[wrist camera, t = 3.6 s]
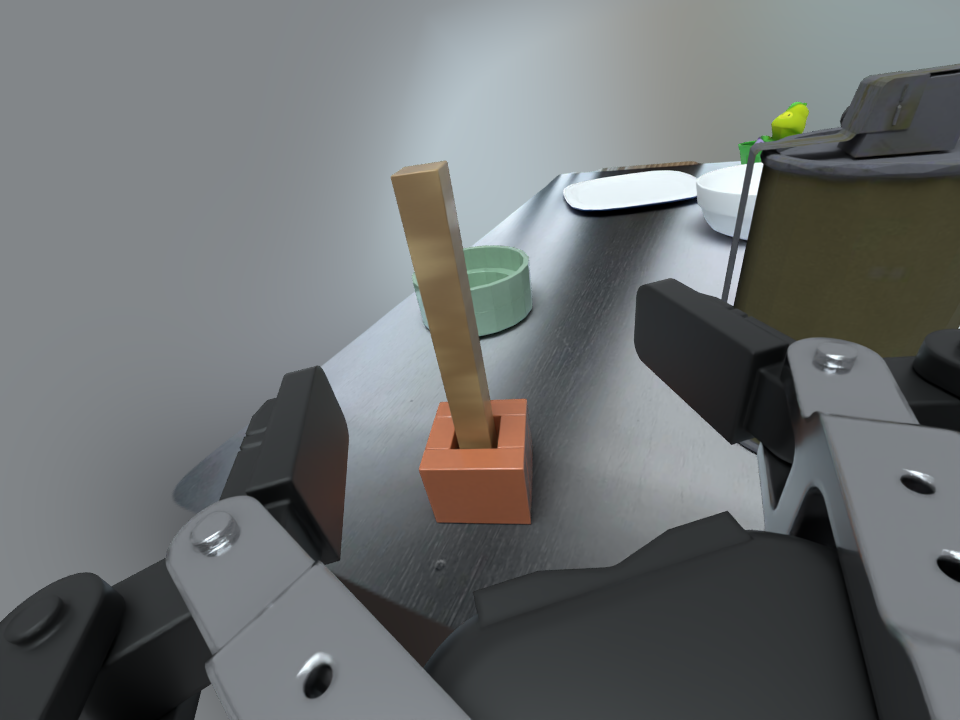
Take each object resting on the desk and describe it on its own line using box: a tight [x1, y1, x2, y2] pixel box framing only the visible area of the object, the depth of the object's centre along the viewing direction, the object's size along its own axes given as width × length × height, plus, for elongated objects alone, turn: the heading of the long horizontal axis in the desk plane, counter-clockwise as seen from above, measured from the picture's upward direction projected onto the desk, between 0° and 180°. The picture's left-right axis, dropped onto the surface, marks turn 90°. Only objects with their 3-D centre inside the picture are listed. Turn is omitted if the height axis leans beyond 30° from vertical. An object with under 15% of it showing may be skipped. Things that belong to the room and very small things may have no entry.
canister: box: [721, 64, 960, 453], centre depth 23 cm, size 11×10×20 cm
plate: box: [563, 170, 698, 211], centre depth 81 cm, size 25×25×2 cm
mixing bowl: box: [412, 246, 533, 336], centre depth 48 cm, size 13×13×6 cm
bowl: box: [696, 162, 763, 240], centre depth 55 cm, size 18×18×7 cm
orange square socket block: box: [419, 399, 533, 524], centre depth 27 cm, size 6×6×5 cm
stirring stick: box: [391, 161, 498, 449], centre depth 22 cm, size 2×2×20 cm
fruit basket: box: [738, 102, 809, 165], centre depth 78 cm, size 11×9×11 cm
